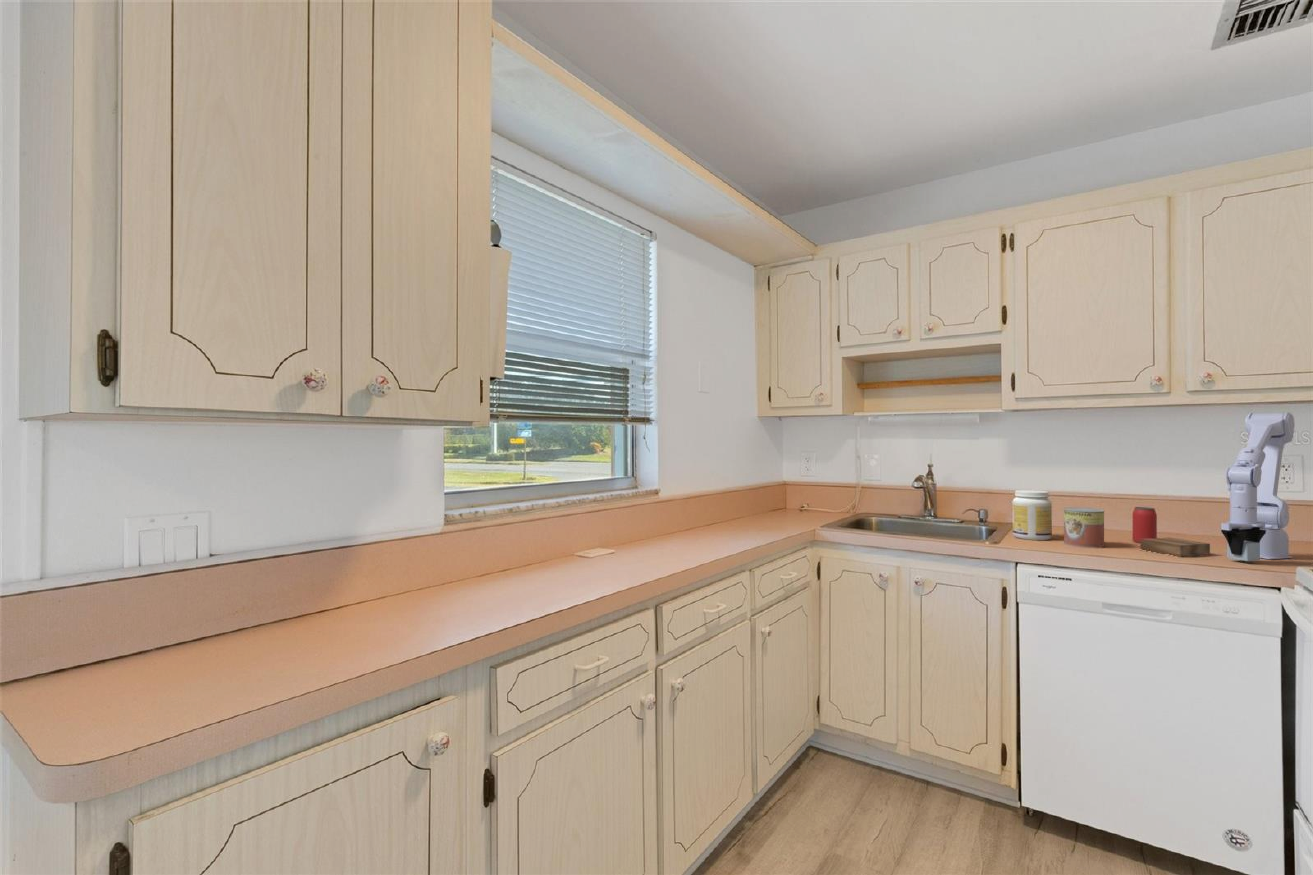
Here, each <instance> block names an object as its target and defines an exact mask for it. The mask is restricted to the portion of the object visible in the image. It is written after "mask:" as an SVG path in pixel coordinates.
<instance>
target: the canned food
mask: <svg viewBox="0 0 1313 875" xmlns="http://www.w3.org/2000/svg"><path fill="white" fill-rule="evenodd" d="M1063 545H1065V546H1070V547H1076V548H1085V549H1102V548H1105V510H1104V509H1099V508H1089V507H1064V508H1063Z"/></svg>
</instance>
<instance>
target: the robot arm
mask: <svg viewBox="0 0 1313 875" xmlns="http://www.w3.org/2000/svg"><path fill="white" fill-rule="evenodd" d="M1244 427H1245V431H1246V432H1247V434H1248V441H1247V444H1246V446H1245V447H1243V448H1241V449H1240V450H1239V452H1238V455H1237V457H1236V459H1235V461H1234V464H1233V466H1231V467H1228V468H1227V470H1226V472H1225V480H1226V484H1227V492H1229V521H1226V522H1222V523H1220V526H1221V529H1220V531H1221V534H1222V535H1223V537H1224V538H1225V539H1226V542H1228V544H1229V547H1230V550H1231V553H1232V554H1235V555H1241V554H1242V551H1243V543H1244V541H1251V542H1258V543H1260V559H1267V560H1280V559H1292V558H1293V556H1291V555H1290V554H1289V552H1290V551H1289V550H1290V549H1289V546H1290V544H1289V543H1290V542H1289V541H1290V540H1289V539H1290V538H1289V534H1288V533H1287V531H1286V530H1284V529H1285V527H1287V526H1288V525H1289V522H1290V513H1289V511H1290V510H1289V508H1290V507H1289V505H1288V503H1287V502H1286V501H1285V500H1283V499H1282V498H1280V497H1278V496H1277V495H1278V488H1279V483H1280V476H1281V475H1280V474H1281V468H1282V458H1283V451H1284V448H1285V445H1286V444H1288V443H1291V442H1292V441H1293V438H1294V435H1295V434H1294V433H1295V418H1294V416H1293V414H1292V413H1291V412H1271V413H1269V412H1267V413H1263V412H1262V413H1253V412H1252V413H1251V412H1250V413H1248V415H1246V416H1245V421H1244Z"/></svg>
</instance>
